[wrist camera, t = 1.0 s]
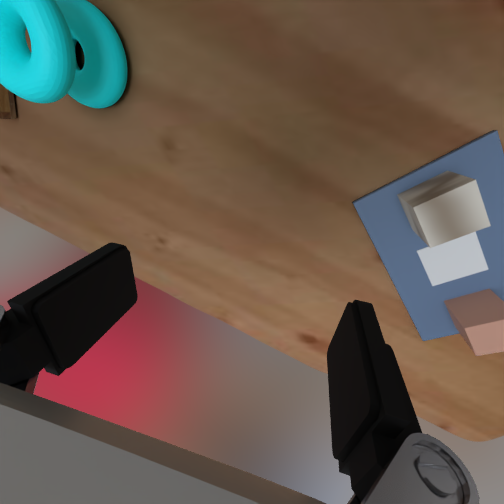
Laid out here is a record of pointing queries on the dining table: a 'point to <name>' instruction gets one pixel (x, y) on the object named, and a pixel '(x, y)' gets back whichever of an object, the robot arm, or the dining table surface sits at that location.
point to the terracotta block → (479, 320)
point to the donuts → (60, 52)
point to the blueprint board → (447, 254)
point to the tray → (6, 104)
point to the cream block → (444, 208)
